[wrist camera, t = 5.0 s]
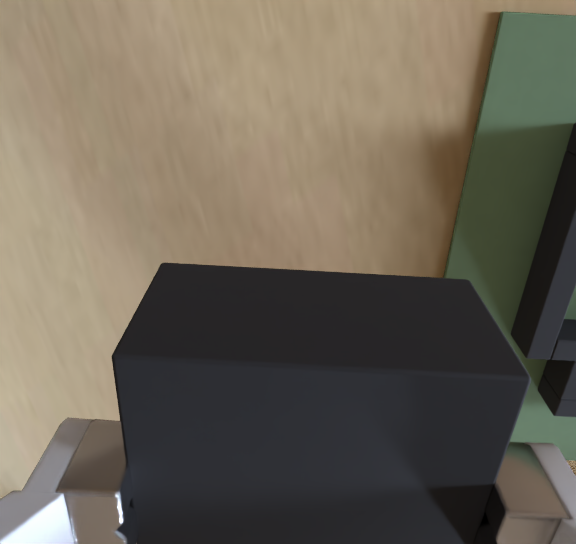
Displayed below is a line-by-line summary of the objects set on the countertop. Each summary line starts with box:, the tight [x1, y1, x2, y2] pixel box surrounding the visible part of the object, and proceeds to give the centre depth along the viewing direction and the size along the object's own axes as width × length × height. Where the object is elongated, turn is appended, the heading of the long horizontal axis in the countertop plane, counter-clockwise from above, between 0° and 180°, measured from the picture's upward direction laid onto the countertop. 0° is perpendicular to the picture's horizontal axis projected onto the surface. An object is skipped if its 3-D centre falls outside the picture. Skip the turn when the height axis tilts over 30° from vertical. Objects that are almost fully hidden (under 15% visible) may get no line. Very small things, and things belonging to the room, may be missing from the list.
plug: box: [112, 263, 531, 544], centre depth 10 cm, size 8×6×3 cm
